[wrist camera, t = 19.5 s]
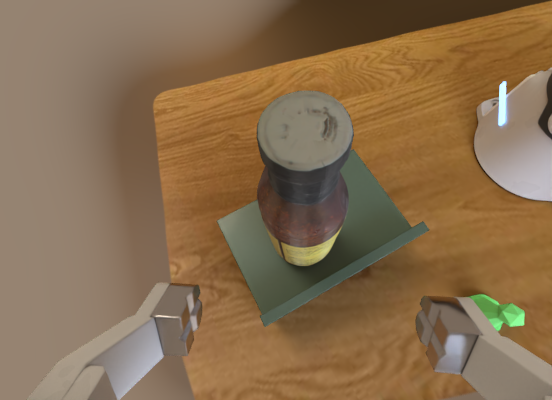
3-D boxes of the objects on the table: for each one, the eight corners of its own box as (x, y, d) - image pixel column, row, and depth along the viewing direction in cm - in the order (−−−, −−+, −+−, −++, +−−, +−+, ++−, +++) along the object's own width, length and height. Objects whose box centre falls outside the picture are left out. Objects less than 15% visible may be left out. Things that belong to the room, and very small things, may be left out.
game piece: (501, 336, 32) (546, 344, 26) (461, 329, 32) (497, 334, 27) (498, 297, 33) (540, 296, 28) (460, 290, 34) (494, 288, 28)
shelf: (343, 174, 40) (358, 136, 31) (394, 247, 36) (429, 229, 27) (229, 234, 38) (210, 213, 29) (271, 320, 34) (264, 327, 25)
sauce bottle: (342, 232, 30) (428, 118, 11) (308, 280, 28) (341, 241, 10) (293, 198, 31) (297, 47, 13) (258, 242, 30) (204, 143, 11)
